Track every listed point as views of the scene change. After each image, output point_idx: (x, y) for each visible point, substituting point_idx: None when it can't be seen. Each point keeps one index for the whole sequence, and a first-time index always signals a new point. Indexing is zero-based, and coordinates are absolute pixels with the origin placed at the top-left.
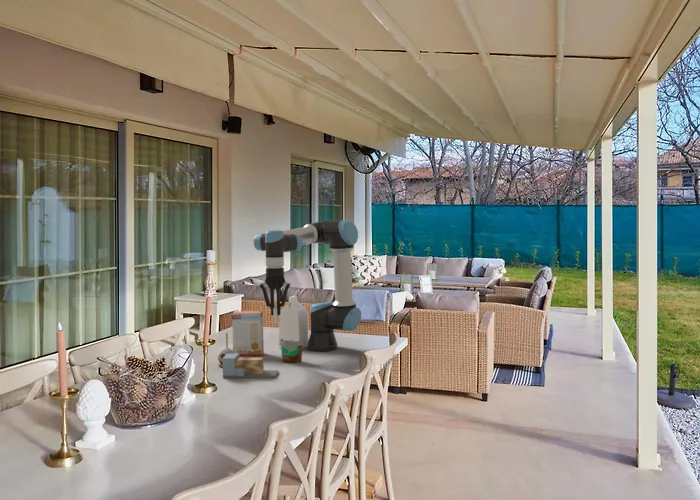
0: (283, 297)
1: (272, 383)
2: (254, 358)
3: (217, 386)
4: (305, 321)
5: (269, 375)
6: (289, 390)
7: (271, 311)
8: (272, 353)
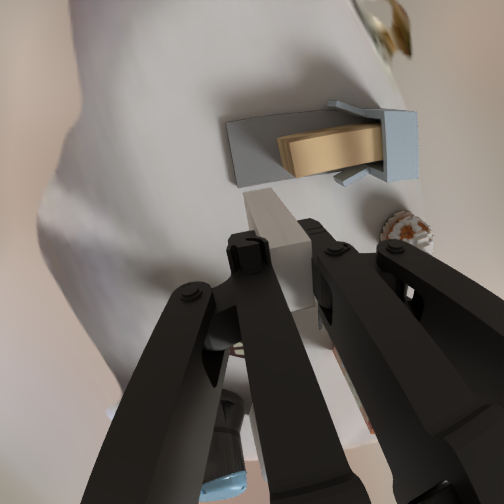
0: (162, 389)
1: (213, 63)
2: (324, 157)
3: (364, 28)
4: (260, 455)
5: (246, 121)
6: (138, 16)
7: (322, 234)
8: (312, 355)
